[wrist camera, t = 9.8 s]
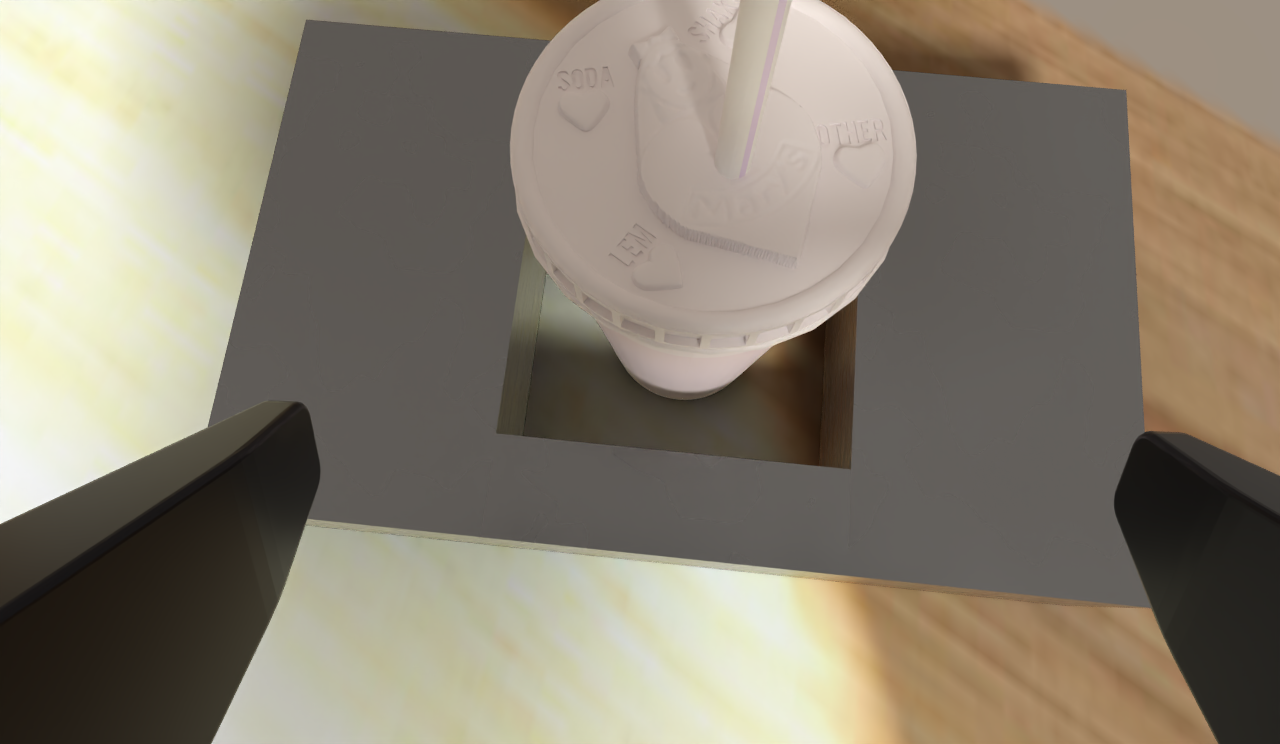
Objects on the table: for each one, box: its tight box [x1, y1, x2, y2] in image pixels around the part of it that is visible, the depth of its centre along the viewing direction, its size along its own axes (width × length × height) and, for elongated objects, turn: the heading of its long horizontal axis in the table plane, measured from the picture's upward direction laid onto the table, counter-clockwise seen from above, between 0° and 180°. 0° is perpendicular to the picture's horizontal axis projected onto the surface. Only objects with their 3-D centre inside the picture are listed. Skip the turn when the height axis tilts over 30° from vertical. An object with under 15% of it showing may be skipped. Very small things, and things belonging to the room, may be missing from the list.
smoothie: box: [510, 0, 917, 400], centre depth 15 cm, size 6×6×14 cm
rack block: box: [208, 20, 1151, 608], centre depth 20 cm, size 12×20×4 cm, turn 84°
